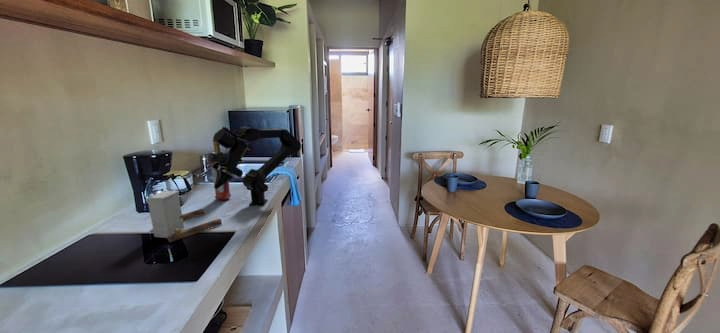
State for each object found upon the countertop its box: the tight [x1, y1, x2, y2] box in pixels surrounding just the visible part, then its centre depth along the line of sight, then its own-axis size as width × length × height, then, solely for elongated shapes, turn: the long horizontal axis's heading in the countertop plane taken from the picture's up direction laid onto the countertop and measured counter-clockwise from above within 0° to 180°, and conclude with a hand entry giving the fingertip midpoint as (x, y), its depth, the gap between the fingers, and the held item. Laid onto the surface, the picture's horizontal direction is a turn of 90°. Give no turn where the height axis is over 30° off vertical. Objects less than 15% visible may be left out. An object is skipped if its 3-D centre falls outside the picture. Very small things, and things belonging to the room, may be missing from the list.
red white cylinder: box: [209, 139, 232, 201], centre depth 139 cm, size 7×7×28 cm
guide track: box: [167, 208, 222, 243], centre depth 115 cm, size 18×16×4 cm
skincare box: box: [146, 190, 185, 239], centre depth 109 cm, size 8×6×15 cm
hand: (215, 188), depth 120 cm, fingers closed
